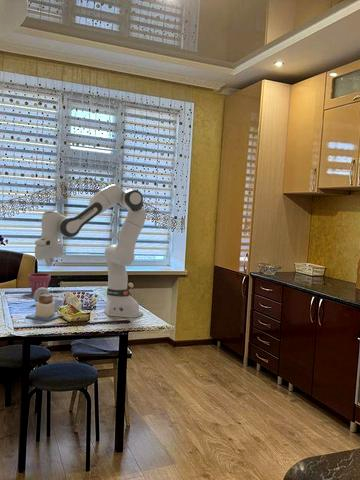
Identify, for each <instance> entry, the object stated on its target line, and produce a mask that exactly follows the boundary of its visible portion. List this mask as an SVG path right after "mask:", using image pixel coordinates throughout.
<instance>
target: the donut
mask: <svg viewBox="0 0 360 480" xmlns="http://www.w3.org/2000/svg"><path fill="white" fill-rule="evenodd" d="M41 293H44V294H50V295H51V293H50V290H48V288H47V289H46V288H39V289H37V290H36V291H35V293H34V294H33V300H34V301H35V303H37V302H39V295H40V294H41Z"/></svg>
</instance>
